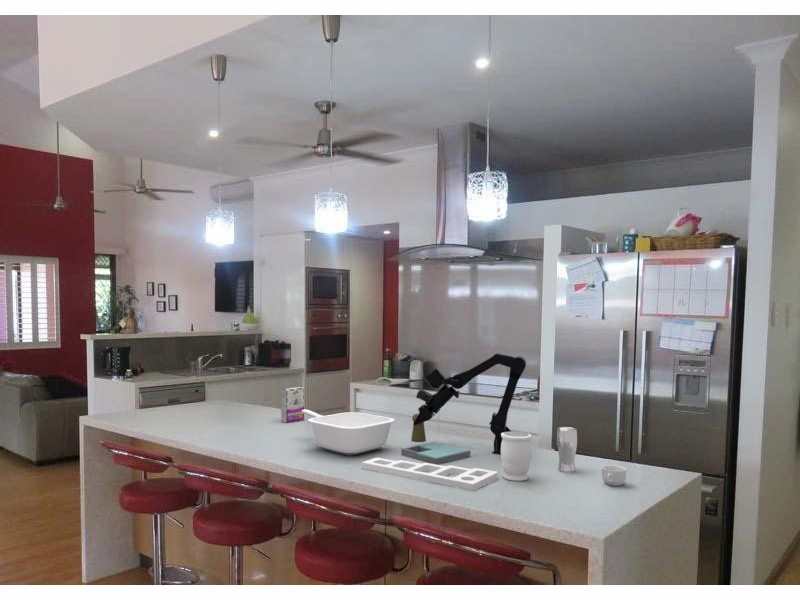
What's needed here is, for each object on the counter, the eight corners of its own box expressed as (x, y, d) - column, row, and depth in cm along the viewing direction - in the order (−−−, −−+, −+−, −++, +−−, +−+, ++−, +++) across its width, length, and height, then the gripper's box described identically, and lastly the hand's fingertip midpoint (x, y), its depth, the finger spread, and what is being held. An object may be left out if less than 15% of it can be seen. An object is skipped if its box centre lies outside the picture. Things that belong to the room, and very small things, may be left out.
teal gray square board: (470, 456, 245) (470, 450, 245) (436, 464, 233) (436, 457, 233) (435, 447, 259) (435, 441, 259) (401, 455, 247) (401, 448, 247)
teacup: (606, 479, 215) (606, 463, 215) (629, 483, 211) (629, 467, 211) (596, 486, 207) (596, 470, 207) (619, 490, 203) (619, 473, 203)
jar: (531, 483, 210) (531, 438, 210) (499, 481, 212) (500, 436, 212) (531, 474, 220) (531, 431, 220) (501, 473, 222) (501, 430, 222)
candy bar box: (298, 419, 320) (298, 386, 320) (304, 420, 316) (304, 387, 316) (280, 421, 311) (280, 388, 311) (286, 423, 308) (287, 389, 308)
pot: (350, 462, 235) (350, 428, 235) (276, 443, 264) (277, 413, 264) (400, 449, 256) (401, 418, 256) (327, 433, 285) (327, 405, 285)
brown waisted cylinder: (413, 438, 263) (413, 412, 264) (427, 439, 262) (427, 413, 262) (409, 441, 258) (409, 414, 258) (423, 442, 256) (423, 415, 256)
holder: (361, 469, 226) (361, 462, 226) (390, 459, 241) (390, 452, 241) (473, 492, 201) (473, 484, 201) (498, 479, 215) (498, 472, 215)
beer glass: (577, 469, 229) (577, 427, 229) (576, 473, 222) (576, 431, 222) (557, 467, 231) (558, 426, 231) (555, 472, 224) (556, 429, 224)
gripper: (432, 380, 268) (407, 405, 271) (423, 385, 250) (396, 412, 252) (450, 399, 266) (425, 424, 269) (442, 406, 248) (415, 433, 250)
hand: (415, 423), depth 260 cm, fingers closed on brown waisted cylinder, 5 cm apart
